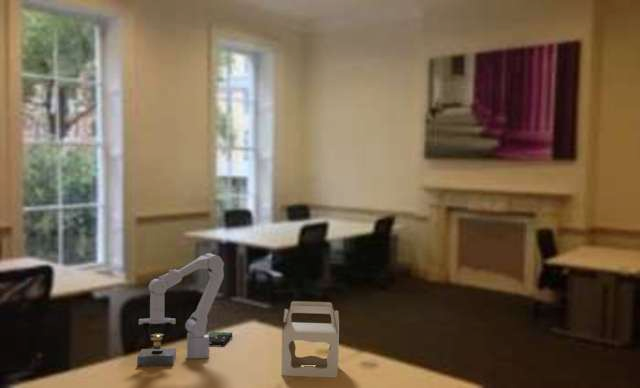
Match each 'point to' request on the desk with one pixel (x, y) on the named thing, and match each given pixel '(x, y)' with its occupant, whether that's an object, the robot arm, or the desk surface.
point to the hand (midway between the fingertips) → (157, 341)
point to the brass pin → (157, 340)
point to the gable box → (310, 334)
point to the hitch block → (156, 357)
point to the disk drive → (219, 338)
